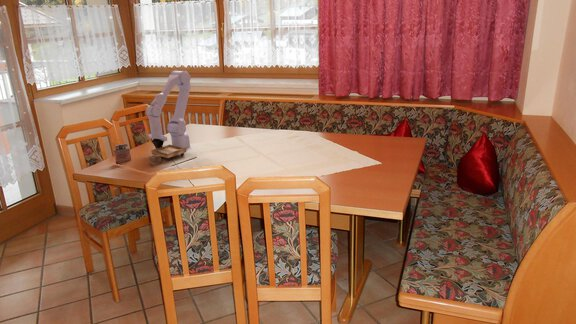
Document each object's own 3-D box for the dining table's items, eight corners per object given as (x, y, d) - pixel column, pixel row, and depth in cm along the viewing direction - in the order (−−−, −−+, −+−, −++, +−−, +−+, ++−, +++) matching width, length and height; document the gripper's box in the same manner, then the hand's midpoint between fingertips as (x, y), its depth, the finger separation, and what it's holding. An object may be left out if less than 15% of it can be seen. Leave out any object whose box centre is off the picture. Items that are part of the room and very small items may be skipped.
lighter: (115, 164, 229) (112, 146, 225) (116, 162, 232) (112, 144, 229) (131, 162, 231) (128, 144, 227) (132, 160, 234) (129, 142, 231)
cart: (170, 151, 242) (169, 144, 240) (187, 155, 233) (186, 147, 232) (152, 157, 233) (151, 150, 232) (168, 161, 224) (167, 153, 223)
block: (157, 163, 226) (155, 154, 224) (161, 165, 224) (160, 155, 222) (150, 165, 223) (149, 156, 222) (155, 167, 221) (153, 157, 219)
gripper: (141, 128, 235) (145, 152, 239) (157, 131, 226) (161, 156, 231) (152, 125, 240) (156, 148, 245) (168, 128, 231) (172, 152, 236)
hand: (159, 152), depth 238 cm, fingers closed
